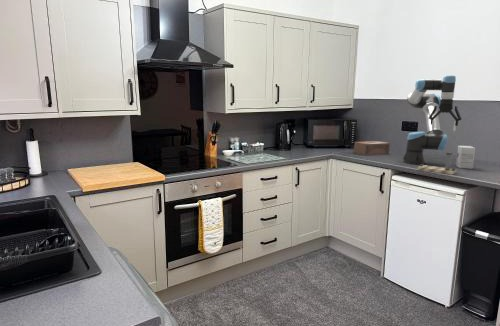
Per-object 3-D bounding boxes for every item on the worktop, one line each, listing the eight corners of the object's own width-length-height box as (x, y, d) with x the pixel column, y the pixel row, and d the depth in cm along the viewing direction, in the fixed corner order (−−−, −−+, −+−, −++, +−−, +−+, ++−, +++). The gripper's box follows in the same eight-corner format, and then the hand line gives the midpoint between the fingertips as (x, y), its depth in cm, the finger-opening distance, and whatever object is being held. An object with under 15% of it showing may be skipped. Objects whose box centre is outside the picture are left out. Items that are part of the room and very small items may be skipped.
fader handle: (444, 169, 229) (446, 152, 227) (446, 168, 232) (448, 152, 230) (448, 169, 227) (450, 153, 225) (450, 169, 230) (452, 152, 228)
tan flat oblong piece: (417, 169, 238) (418, 165, 237) (422, 167, 245) (422, 163, 245) (452, 174, 224) (452, 169, 223) (456, 172, 231) (456, 167, 230)
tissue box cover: (364, 155, 296) (365, 144, 294) (353, 153, 309) (354, 141, 307) (388, 154, 304) (389, 143, 303) (377, 151, 318) (378, 141, 316)
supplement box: (455, 165, 255) (457, 145, 252) (469, 166, 252) (471, 146, 249) (458, 168, 246) (461, 147, 243) (473, 168, 244) (476, 147, 241)
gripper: (425, 98, 243) (422, 128, 247) (466, 99, 226) (462, 131, 230) (429, 98, 248) (425, 128, 252) (469, 99, 231) (465, 131, 235)
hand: (443, 130), depth 241 cm, fingers open, 13 cm apart
